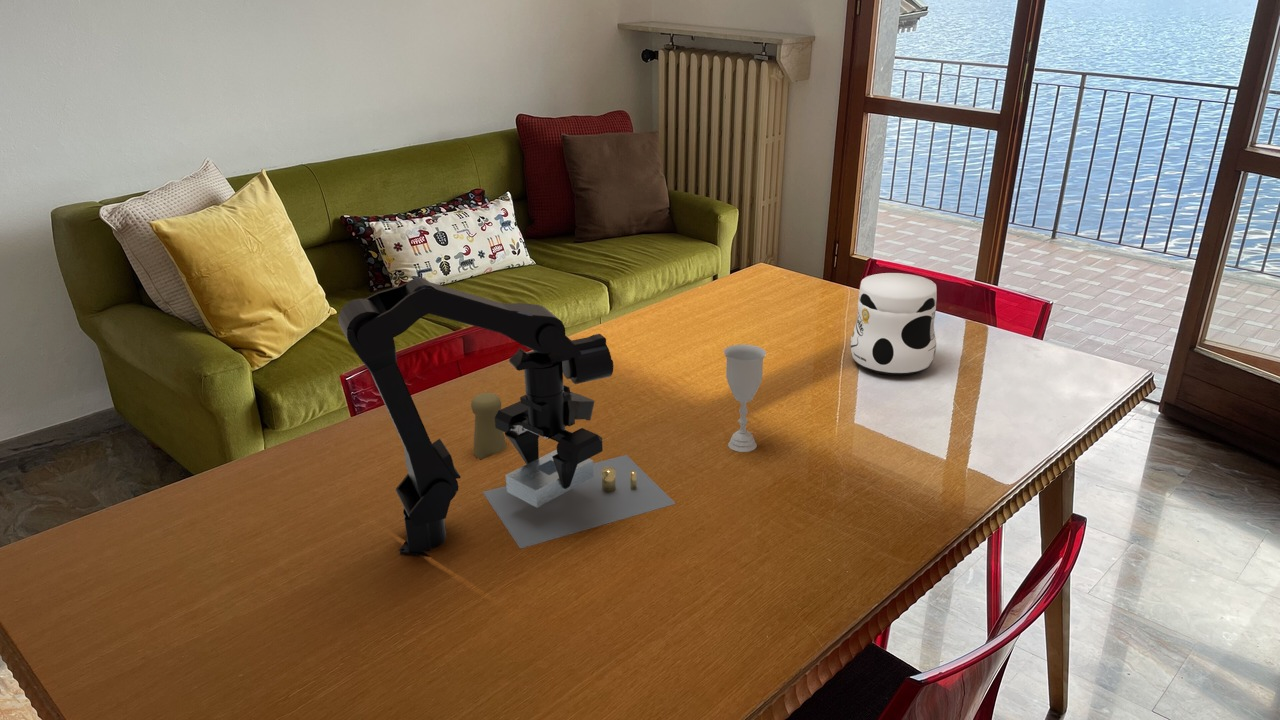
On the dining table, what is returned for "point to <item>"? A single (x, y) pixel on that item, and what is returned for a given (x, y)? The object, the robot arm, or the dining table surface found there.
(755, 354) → the chalice
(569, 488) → the silver rectangular block
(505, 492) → the mount board
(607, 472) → the pair of brass cylinders
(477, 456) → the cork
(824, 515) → the dining table surface
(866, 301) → the milk container
